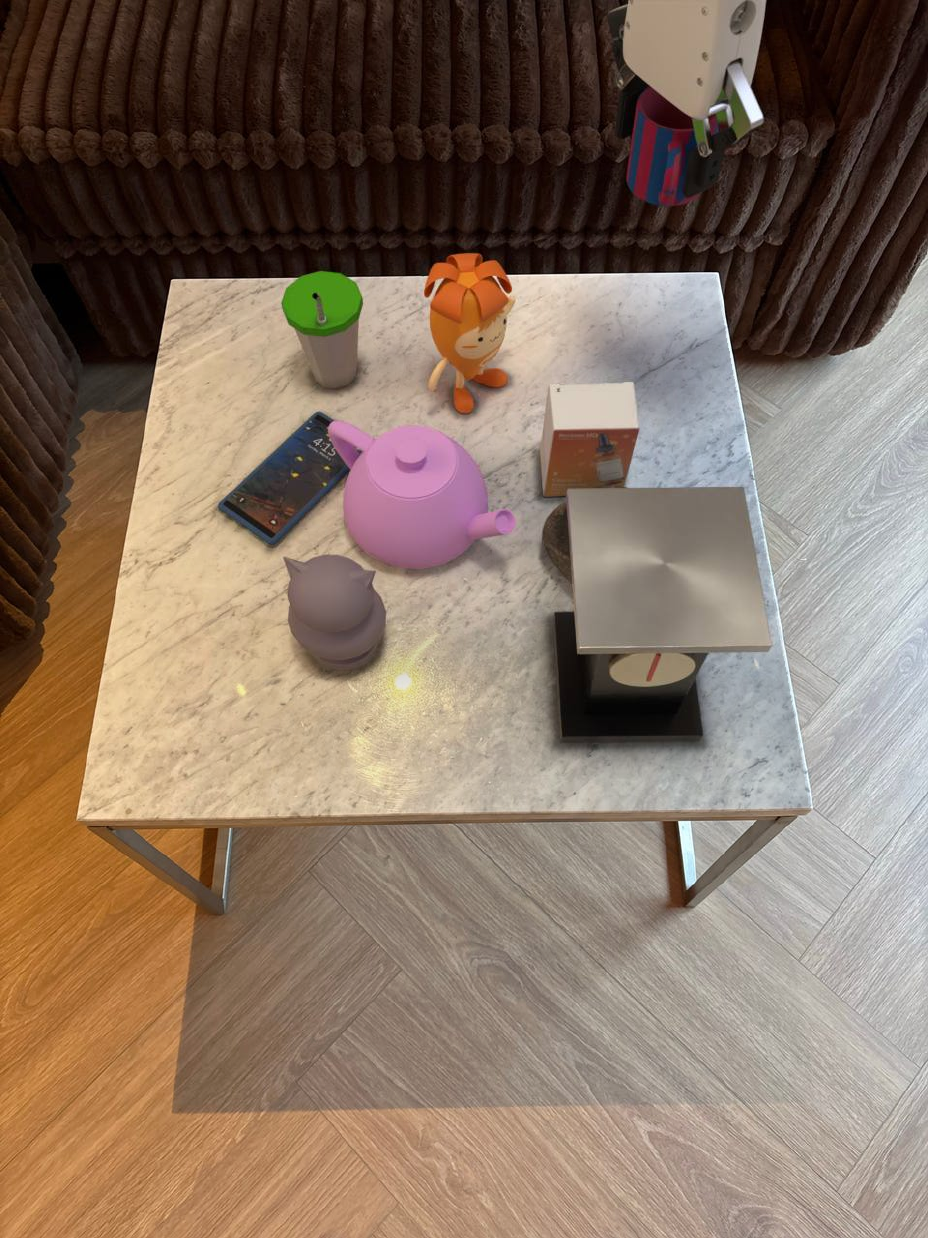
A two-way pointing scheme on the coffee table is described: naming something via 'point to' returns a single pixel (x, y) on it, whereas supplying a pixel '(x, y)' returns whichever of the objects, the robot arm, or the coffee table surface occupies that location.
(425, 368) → the coffee table surface
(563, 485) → the small box
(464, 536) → the teapot
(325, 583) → the cat figurine
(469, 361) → the toy figure
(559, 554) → the stone
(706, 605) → the scale
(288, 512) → the smartphone
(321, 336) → the cup
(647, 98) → the cup
